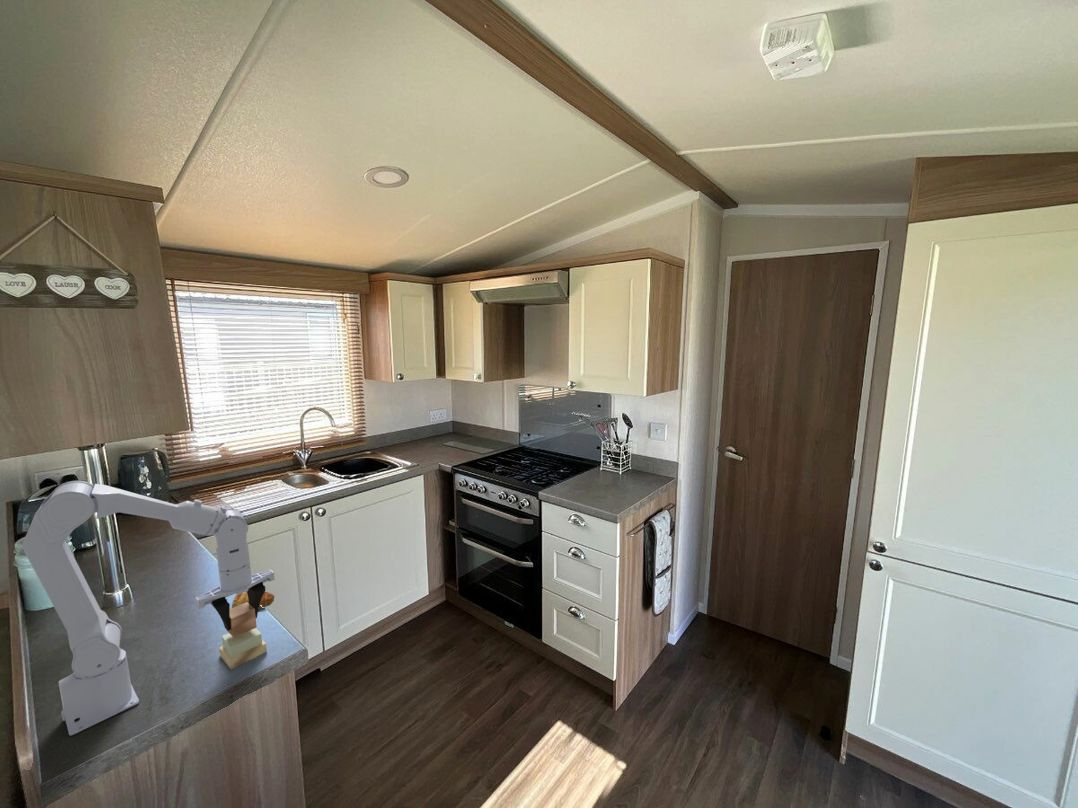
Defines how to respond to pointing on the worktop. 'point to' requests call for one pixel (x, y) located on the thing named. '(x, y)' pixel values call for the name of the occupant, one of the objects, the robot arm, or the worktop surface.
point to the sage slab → (241, 642)
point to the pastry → (243, 598)
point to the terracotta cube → (242, 619)
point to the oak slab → (242, 655)
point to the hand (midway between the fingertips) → (241, 622)
